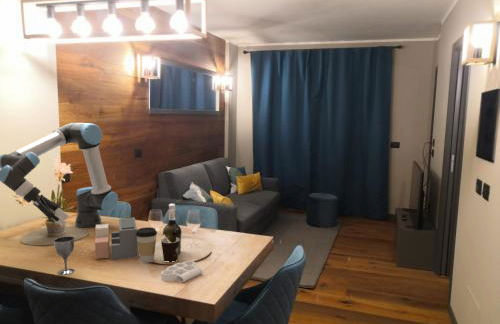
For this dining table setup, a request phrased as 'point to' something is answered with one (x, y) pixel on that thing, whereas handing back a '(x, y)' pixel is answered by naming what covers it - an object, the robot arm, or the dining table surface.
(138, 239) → the coffee cup
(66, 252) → the wine glass
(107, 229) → the cream key
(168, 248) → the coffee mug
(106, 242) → the terracotta key
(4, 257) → the dining table surface
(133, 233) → the console
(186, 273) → the grey muffin tray
